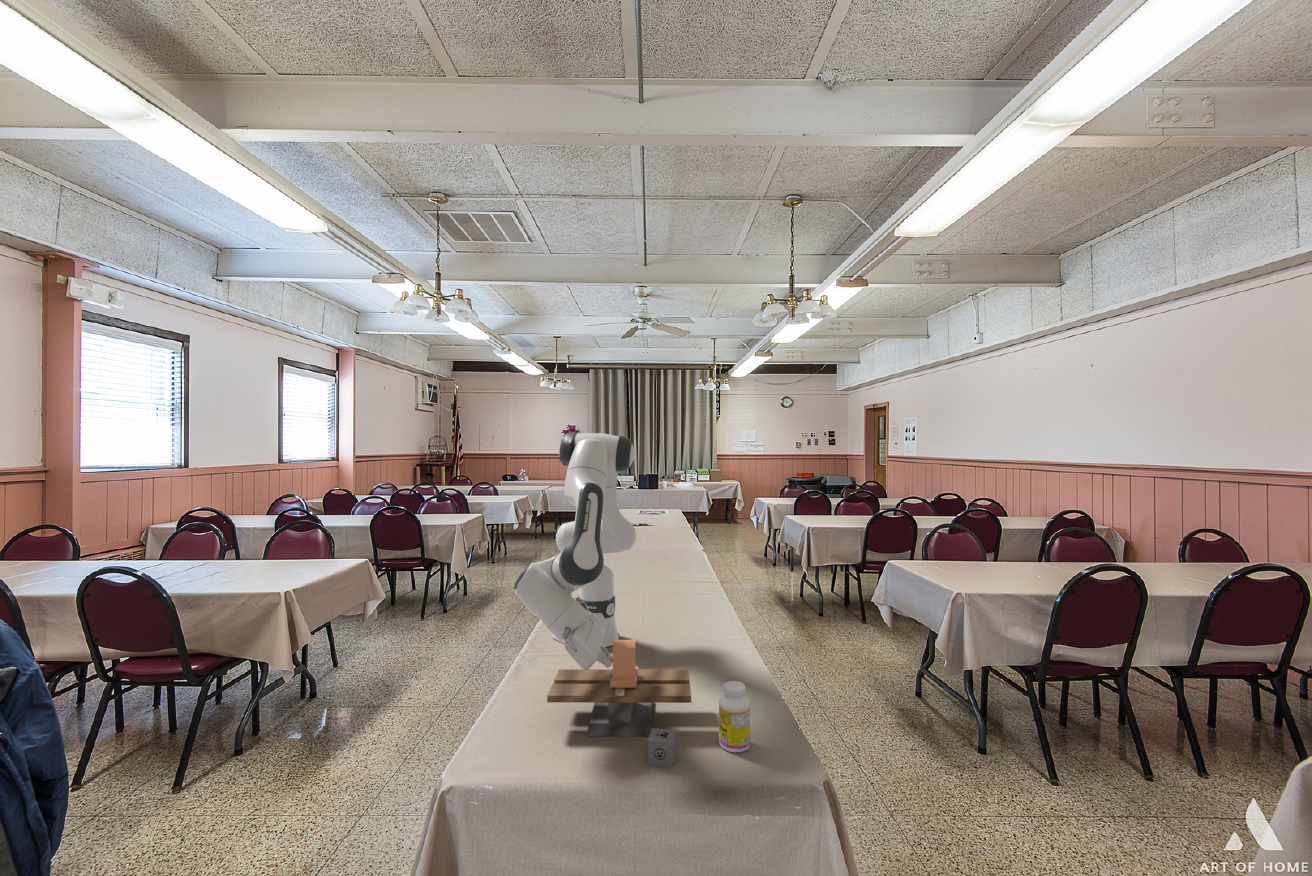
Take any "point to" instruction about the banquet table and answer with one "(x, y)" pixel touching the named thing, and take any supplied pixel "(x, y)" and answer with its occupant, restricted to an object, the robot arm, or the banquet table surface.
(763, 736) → the banquet table surface
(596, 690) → the balance beam
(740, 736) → the supplement bottle
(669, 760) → the dice cube
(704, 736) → the banquet table surface
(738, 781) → the banquet table surface
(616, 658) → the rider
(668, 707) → the banquet table surface
